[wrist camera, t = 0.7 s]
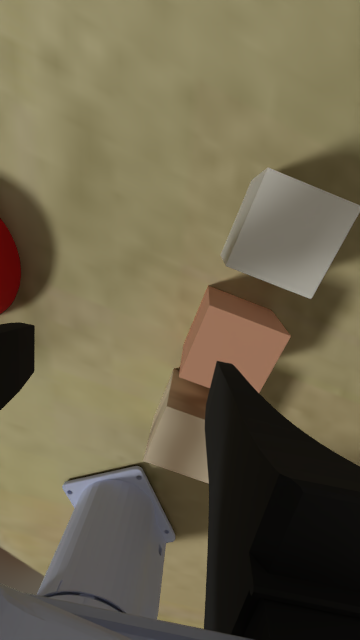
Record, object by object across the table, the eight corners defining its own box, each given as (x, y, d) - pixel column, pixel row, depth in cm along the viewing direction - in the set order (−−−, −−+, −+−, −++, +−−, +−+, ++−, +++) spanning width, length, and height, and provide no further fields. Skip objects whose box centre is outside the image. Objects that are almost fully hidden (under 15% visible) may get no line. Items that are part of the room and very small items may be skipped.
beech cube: (231, 389, 23) (238, 431, 18) (207, 434, 24) (209, 483, 20) (173, 368, 22) (166, 405, 18) (154, 415, 24) (143, 460, 20)
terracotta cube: (271, 309, 20) (291, 336, 16) (242, 365, 22) (252, 404, 17) (208, 285, 20) (209, 304, 16) (183, 343, 22) (178, 376, 17)
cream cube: (322, 209, 18) (362, 206, 13) (286, 280, 20) (311, 299, 15) (251, 180, 18) (267, 167, 13) (220, 254, 19) (225, 266, 15)
